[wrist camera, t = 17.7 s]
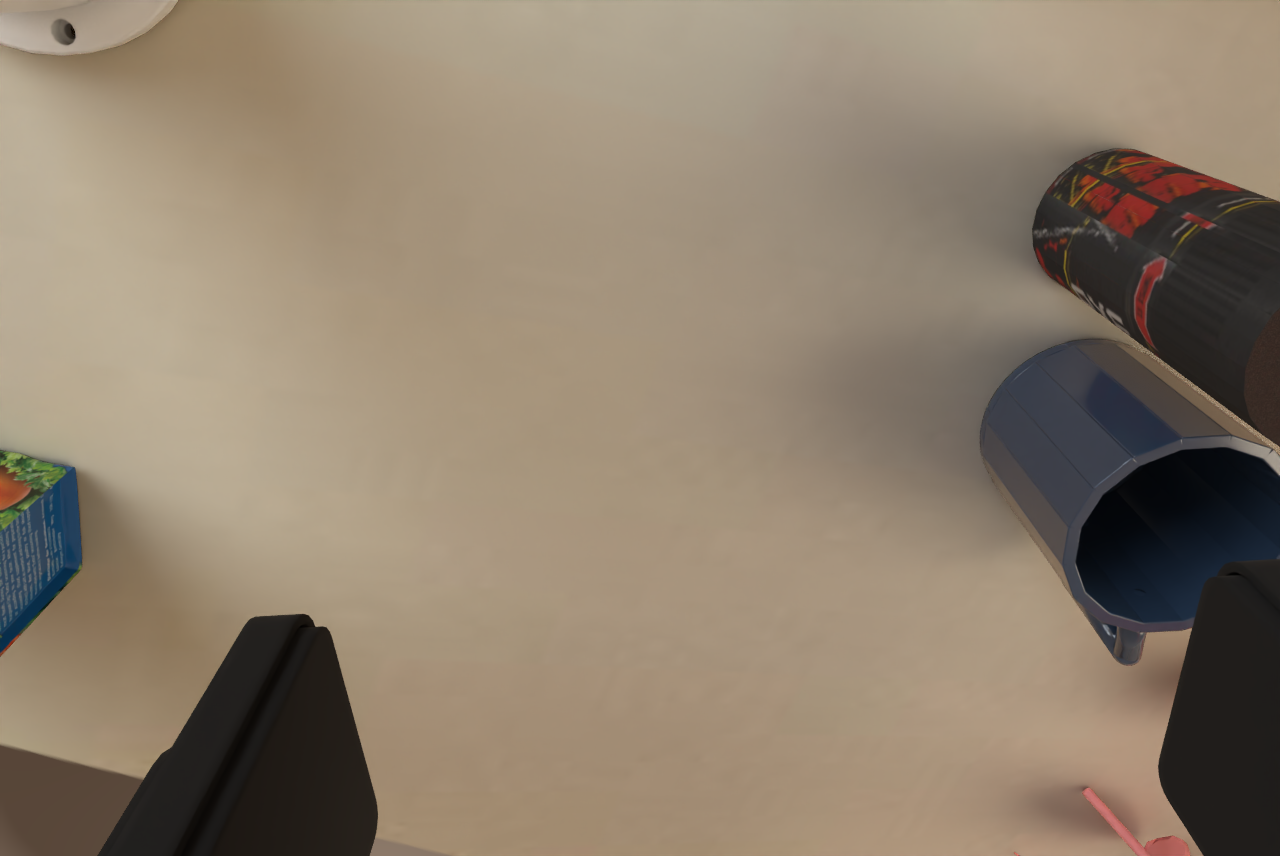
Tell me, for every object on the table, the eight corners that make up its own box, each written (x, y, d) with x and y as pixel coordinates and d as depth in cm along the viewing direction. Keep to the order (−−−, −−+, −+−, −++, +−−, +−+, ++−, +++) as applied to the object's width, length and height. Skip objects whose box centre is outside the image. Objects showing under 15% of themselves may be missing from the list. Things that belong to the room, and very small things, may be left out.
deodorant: (1208, 185, 38) (1526, 305, 24) (1117, 311, 40) (1361, 485, 27) (1089, 123, 36) (1353, 213, 23) (1003, 256, 39) (1197, 408, 25)
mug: (989, 344, 41) (1082, 444, 32) (1186, 332, 40) (1332, 428, 32) (964, 564, 46) (1039, 699, 37) (1139, 554, 46) (1254, 688, 37)
